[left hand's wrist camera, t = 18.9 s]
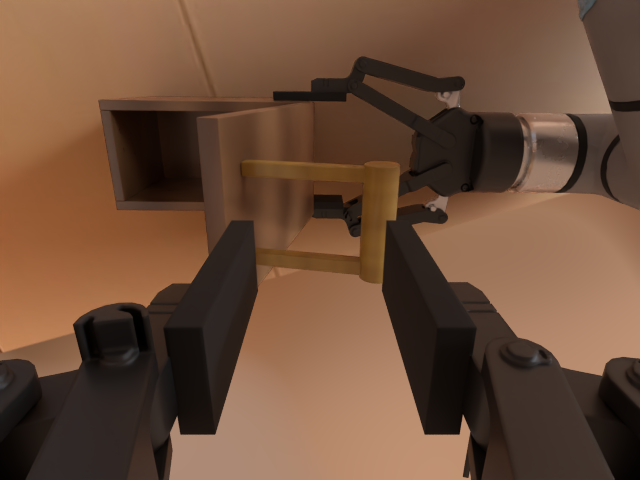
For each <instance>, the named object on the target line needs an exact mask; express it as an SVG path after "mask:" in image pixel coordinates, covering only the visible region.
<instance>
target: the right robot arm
mask: <svg viewBox="0 0 640 480" xmlns="http://www.w3.org/2000/svg"><path fill="white" fill-rule="evenodd" d="M577 1H578V6H579V11H580V13H579V16H580V19H581V21H582V22H583V24H584V27H585V30H586V33H587V36H588V39H589V42H590V45H591V48H592V51H593V55H594V58H595V61H596V64H597V67H598V70H599V73H600V76H601V79H602V82H603V85H604V88H605V91H606V94H607V97H608V101H609V104H610V107H611V111H612V114H564V113H519V114H517V115H514V114H512V113H488V112H467V111H465V110H464V109H462V108H460V90H461V89H463V87H464V85H465V80H464V79H463V78H462V77H459V76H458V77H445V78H436V77H433V76H429V75H426V74H422V73H419V72H416V71H412V70H409V69H405V68H402V67H398V66H395V65H391V64H388V63H384V62H381V61H378V60H374V59H371V58H367V57H359V58H358V59H357V60H356V61H355V62H354V65H353V68H352V71H351V73H350V75H349V76H348V77H347V78H344V79H335V78H317V79H314V80H312V81H311V92H295V91H275V92H273V100H286V101H346V93H352V94H353V95H355V96H357V97H359V98H360V99H362V100H364V101H365V102H367V103H369V104H371V105H372V106H374V107H376V108H377V109H379V110H381V111H383V112H384V113H386V114H388V115H389V116H391V117H393V118H395V119H396V120H398V121H400V122H401V123H403V124H405V125H406V126H408V127H410V128H412V129H413V130H415V133H414V135H412V142H411V143H412V149H413V152H412V155H411V158H410V165H409V167H410V168H411V169H410V170H408V171H406V172H404V173H402V174H401V175H400V177H399V189H398V197H400V196H402V195H404V194H406V193H408V192H413V191H416V190H418V189H420V188H422V187H424V186H426V185H427V186H428V187H429V188H431V189H432V190H433V191H434V192H436V193H437V194H436V196H435V197H434V198H432V199H428V200H426V201H425V202H424V204H416V205H410V206H406V207H402V208H397V214H396V220H409V222H410V224H411V225H412V224H417V223H421V222H429V223H438V224H443V223H445V222H446V221H447V219H448V216H447V214H446V213H445V210H446V206H447V202H448V197H450V196H452V195H454V194H456V193H460V192H495V193H501V192H505V191H506V190H508V191H509V192H511V193H587V194H597V195H602V196H605V197H607V198H610V199H612V200H614V201H617V202H620V203H622V204H625V205H628V206H630V207H633V208H635V209H638V210H640V0H577ZM365 74H367V75H370V76H374V77H377V78H381V79H384V80H388V81H391V82H395V83H398V84H402V85H405V86H409V87H412V88H416V89H419V90H423V91H427V92H435V97H436V99H437V100H439V101H443V102H444V103H445V104H446V109H444V110H443V111H441V112H440V113H438V114H437V115H435V116H434V117H432V118H431V119H430V120H428V121H427V120H426V119H424V118H422V117H420V116H419V115H417V114H415V113H413V112H411V111H410V110H408V109H406V108H405V107H403V106H401V105H400V104H398V103H396V102H395V101H393V100H391V99H389V98H388V97H386V96H384V95H383V94H381V93H379V92H378V91H376V90H374V89H373V88H371V87H369V86H367V85H366V84H364V83H362V82H363V79H364V77H365ZM362 198H363V194H362V195H360V196H358V197H356V198H354V199H352V200H350V201H348V202H346V203H343V199H342V195H314V214H313V215H312V217H314V218H339V219H343V220H344V221H345V222H346V224H347V227H348V229H349V233H350V235H351V236H353V237H358V236H361V218H362V217H358V216H360V215H362Z"/></svg>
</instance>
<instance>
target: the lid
mask: <svg viewBox="0 0 640 480" xmlns="http://www.w3.org/2000/svg"><path fill="white" fill-rule="evenodd" d="M196 121H197V132H198V143H199V153H200V164H201V175H202V186H203V197H204V208H205V219H206V229H207V240H208V251H209V255H210V253H211V252H212V250H213V249H214V247H215V246H216V244H217V242H218V241H219V239H220V238H221V236H222V235H223V233H224V231H225V230H226V228H227V227H228V225H229V224H230V222H231V220H254V235H255V251H256V268H257V284H258V286H259V285H260V283H261V282H262V281H263V280H264V278H265V277H266V276H267V274H268V273H269V272H270V270H271V269H272V268H273V267H284V268H294V269H304V270H314V271H324V272H335V273H345V274H355V275H359V277H360V278H361V279H362V280H364V281H366V282H369V283H383V267H384V251H385V235H386V220H396V214H397V202H398V189H399V177H400V164H398V163H395V162H389V161H370V162H366V163H365V164H364V165H350V164H329V163H314V103H311V102H302V103H295V104H288V105H281V106H274V107H267V108H260V109H253V110H246V111H239V112H232V113H225V114H218V115H211V116H204V117H197V118H196ZM314 180H318V181H336V182H353V183H363V198H362V218H361V238H360V257H355V256H343V255H332V254H321V253H310V252H299V251H288V250H286V249H287V248H288V247H289V245H290V244H291V243H292V241H293V240H294V239H295V238H296V236H297V235H298V234H299V232H300V231H301V230H302V228H303V227H304V226H305V224H306V223H307V222H308V220H309V219H310V218H311V217H312V215H313V214H314Z"/></svg>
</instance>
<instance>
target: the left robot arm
mask: <svg viewBox="0 0 640 480" xmlns="http://www.w3.org/2000/svg"><path fill="white" fill-rule="evenodd" d="M257 292H258V284H257V268H256V251H255V235H254V220H231V222H230V224H229V225H228V227H227V228H226V230H225V231H224V233H223V235H222V236H221V238H220V239H219V241H218V242H217V244H216V246H215V247H214V249H213V250H212V252H211V253H210V255H209V256H208V258H207V260H206V261H205V263H204V264H203V266H202V267H201V269H200V271H199V272H198V274H197V275H196V277H195V278H194V280H193V282H192V283H191V284H171V285H170V286H168V287H167V288H165V289H163V290H162V291H160V292H159V293H158V294H157V295H156V296H155V298H154V299H153V300H152V302H151V303H150V305H149V306H148V307H147V308H146V307H144V306H143V305H140V304H136V303H116V304H111V305H105V306H102V307H100V308H97V309H94V310H91V311H90V312H88V313H86V314H85V315H83V316H81V317H80V318H79V319H78V320H77V321H76V322H75V323H74V324H73V327H74V331H75V334H76V338H77V342H78V346H79V350H80V354H81V358H82V363H81V365H80V367H79V369H78V370H74V371H70V372H65V373H60V374H55V375H50V376H45V377H40V378H38V375H37V372H36V369H35V366H34V365H33V364H32V363H31V362H30V361H27V360H21V359H12V360H2V361H0V480H169V475H170V467H171V459H172V444H171V438H170V431H171V429H172V427H173V424H174V422H175V419H176V417H177V416H178V422H179V428H180V434H181V435H182V434H183V435H188V434H189V435H215V434H216V430H217V427H218V423H219V420H220V417H221V413H222V410H223V407H224V403H225V400H226V397H227V393H228V390H229V386H230V383H231V380H232V376H233V373H234V370H235V366H236V363H237V359H238V356H239V353H240V349H241V346H242V343H243V339H244V336H245V333H246V329H247V326H248V322H249V319H250V316H251V312H252V309H253V306H254V302H255V299H256V295H257ZM382 292H383V296H384V299H385V302H386V306H387V309H388V312H389V316H390V319H391V323H392V326H393V329H394V333H395V336H396V339H397V343H398V346H399V349H400V353H401V356H402V360H403V363H404V366H405V370H406V373H407V376H408V380H409V383H410V386H411V390H412V393H413V396H414V400H415V403H416V407H417V410H418V413H419V416H420V420H421V423H422V427H423V430H424V434H425V435H428V434H429V435H434V434H435V435H459V434H460V428H461V422H462V416H463V415H464V417H465V420H466V422H467V424H468V427H469V429H470V431H471V432H470V437H469V443H468V449H467V455H466V460H465V466H464V473H463V477H466V478H468V477H469V472H470V474H471V480H640V359H638V358H627V357H621V358H614V359H611V360H610V361H609V362H608V363H606V365H605V369H604V372H603V375H602V376H600V375H594V374H589V373H584V372H579V371H574V370H570V369H566V368H562V367H560V365H559V362H558V361H557V359H556V358H555V357H554V356H553V354H552V353H551V352H549V351H548V350H547V349H545V348H544V347H542V346H541V345H539V344H536V343H534V342H532V341H529V340H526V339H521V338H518V337H517V336H516V335H515V334H514V332H513V331H512V330H511V328H510V327H509V326H508V324H507V323H506V322H505V321H504V319H503V318H502V317H501V315H500V314H499V313H497V310H496V309H495V308H494V306H493V305H492V304H490V301H489V300H488V299H487V297H486V296H485V295H484V293H483V292H482V291H481V290H479V289H477V288H476V287H474V286H473V285H471V284H469V283H468V282H447V280H446V279H445V277H444V275H443V274H442V272H441V271H440V269H439V267H438V266H437V264H436V263H435V261H434V260H433V258H432V257H431V255H430V253H429V252H428V250H427V249H426V247H425V246H424V244H423V242H422V241H421V239H420V238H419V236H418V235H417V233H416V231H415V230H414V228H413V227H412V225H411V224H410V222H409V220H386V235H385V251H384V267H383V284H382Z"/></svg>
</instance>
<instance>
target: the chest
mask: <svg viewBox="0 0 640 480" xmlns="http://www.w3.org/2000/svg"><path fill="white" fill-rule="evenodd" d="M302 102H311V101H286V100H273V98H232V97H135V98H119V99H103V100H99V106H100V110H101V111H100V112H101V117H102V123H103V129H104V135H105V141H106V147H107V153H108V158H109V164H110V170H111V176H112V182H113V188H114V193H115V199H116V206H117V210H178V211H205V208H204V197H203V186H202V175H201V164H200V153H199V143H198V132H197V121H196V118H197V117H204V116H211V115H218V114H225V113H232V112H239V111H246V110H253V109H260V108H267V107H274V106H281V105H288V104H295V103H302Z"/></svg>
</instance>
